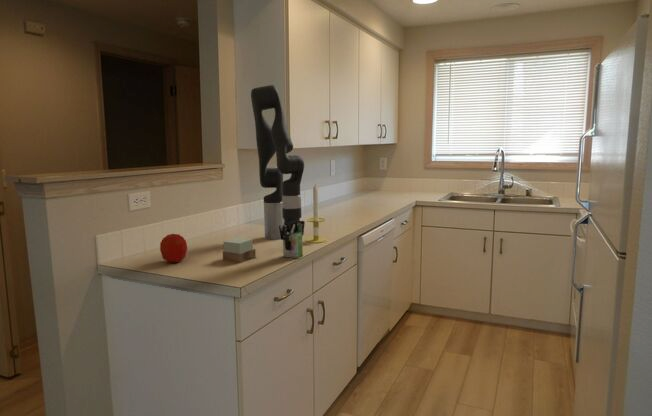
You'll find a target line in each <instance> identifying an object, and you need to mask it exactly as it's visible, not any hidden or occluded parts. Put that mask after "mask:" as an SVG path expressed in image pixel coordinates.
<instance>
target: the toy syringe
mask: <svg viewBox="0 0 652 416" xmlns="http://www.w3.org/2000/svg"><path fill="white" fill-rule="evenodd" d="M318 190H319V189H318V187H317V183H314V186H313V187H312V197H313V198H312V201H313V202H312V203H313V204H312V205H313V207H312V209H313V217H312V218H311V217H310V218H307V219H306V222H309V223H312V225H313V226H312V227H313V228H312V229H313V231H312V232H313V237H309V238H306V239H305V242H306V243H309V244H320V243H321V244H322V243H326V242H327V241H328V240H327V238H325V237H320V229H319V228H320V226H319V225H320V224H319V223H322V222H325V221H326V219H325V218H322V217H321V218H320V217H319V198H318V197H319V191H318Z"/></svg>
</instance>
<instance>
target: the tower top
mask: <svg viewBox="0 0 652 416" xmlns="http://www.w3.org/2000/svg"><path fill="white" fill-rule="evenodd" d="M253 240H254V239H251V238H245V237H234V238H229V239H227V240H224V241H223V251H225V252H232V253H239V254H240V253H243V252H246V251H249V250H252V249H254V241H253Z"/></svg>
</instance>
